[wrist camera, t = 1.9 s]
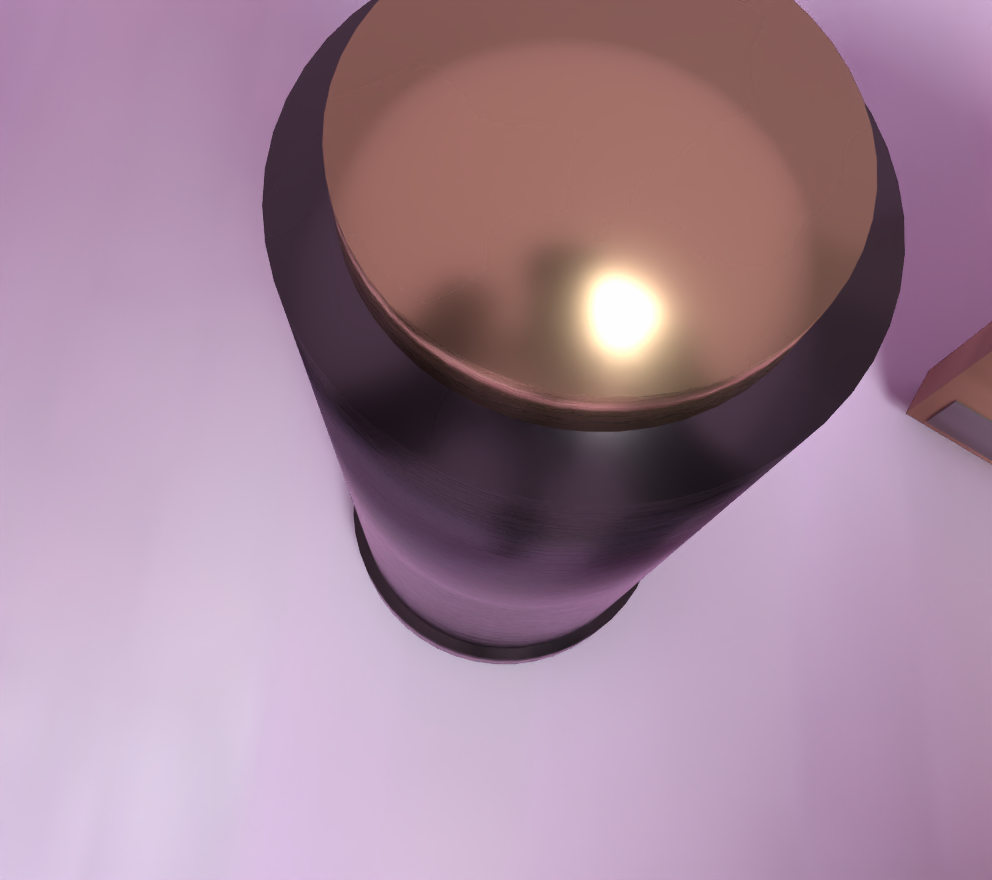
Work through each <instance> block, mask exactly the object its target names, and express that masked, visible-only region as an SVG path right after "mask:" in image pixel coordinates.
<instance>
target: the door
mask: <svg viewBox="0 0 992 880" xmlns="http://www.w3.org/2000/svg"><path fill="white" fill-rule="evenodd" d="M906 414H908V415H909V416H911V417H913V418H914V419H916V420H918V421H920V422H921V423H923V424H925V425H926V426H928V427H930V428H931V429H933V430H935V431H936V432H938V433H940V434H941V435H943V436H945V437H947V438H948V439H950V440H952V441H953V442H955V443H957V444H958V445H960V446H962V447H963V448H965V449H967V450H968V451H970V452H972V453H973V454H975V455H977V456H979V457H980V458H982V459H984V460H985V461H987V462H989V463H990V464H992V322H991V323H989V324H988V325H987V326H985V327H984V328H983V329H982V330H980V331H979V332H978V333H976V334H975V335H974V336H973V337H971V338H970V339H969V340H967V341H966V342H965V343H964V344H962V345H961V346H960V347H958V348H957V349H956V350H955V351H953V352H952V353H951V354H949V355H948V356H947V357H946V358H944V359H943V360H942V361H940V362H939V363H938V364H937V365H935V366H934V367H933V368H931V369H930V370H929V371H928V373H927V375H926V377H925V379H924V380H923V382H922V384H921V386H920V388H919V390H918V392H917V393H916V395H915V397H914V399H913V401H912V403H911V405H910V406H909V408H908V410H907V412H906Z"/></svg>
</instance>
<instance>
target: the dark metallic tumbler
mask: <svg viewBox="0 0 992 880" xmlns="http://www.w3.org/2000/svg"><path fill="white" fill-rule="evenodd" d="M262 207H263V220H264V233H265V244H266V248H267V253H268V257H269V261H270V266H271V270H272V274H273V279H274V282H275V285H276V288H277V291H278V293H279V296H280V299H281V302H282V305H283V307H284V310H285V313H286V316H287V319H288V321H289V324H290V327H291V330H292V332H293V335H294V338H295V341H296V344H297V346H298V349H299V352H300V355H301V358H302V360H303V363H304V366H305V369H306V372H307V374H308V377H309V380H310V383H311V386H312V388H313V391H314V394H315V397H316V400H317V402H318V405H319V408H320V411H321V414H322V416H323V419H324V422H325V425H326V427H327V430H328V433H329V436H330V439H331V441H332V444H333V447H334V450H335V453H336V455H337V458H338V461H339V464H340V467H341V469H342V472H343V475H344V478H345V481H346V483H347V486H348V489H349V492H350V495H351V497H352V500H353V503H354V523H355V533H356V537H357V542H358V546H359V550H360V554H361V556H362V559H363V561H364V564H365V566H366V569H367V572H368V574H369V576H370V579H371V581H372V583H373V585H374V586H375V588H376V590H377V592H378V594H379V595H380V597H381V599H382V600H383V601H384V603H385V604H386V605H387V607H388V608H389V609H390V611H391V612H392V613H393V614H394V615H395V616H396V617H397V618H398V619H399V620H400V621H401V622H402V623H403V624H404V625H405V626H406V627H407V628H408V629H409V630H411V631H412V632H413V633H414V634H416V635H417V636H418V637H420V638H421V639H422V640H424V641H426V642H428V643H429V644H431V645H433V646H434V647H436V648H438V649H440V650H443V651H445V652H447V653H450V654H452V655H455V656H457V657H461V658H465V659H468V660H472V661H476V662H484V663H491V664H518V663H525V662H532V661H537V660H540V659H544V658H547V657H551V656H554V655H556V654H559V653H561V652H563V651H566V650H568V649H570V648H572V647H574V646H575V645H577V644H579V643H580V642H582V641H584V640H585V639H587V638H588V637H590V636H591V635H592V634H594V633H595V632H596V631H597V630H599V629H600V628H601V627H602V626H604V625H605V624H606V623H607V622H608V621H610V620H611V619H612V618H613V617H614V616H615V615H616V614H617V612H618V611H619V610H620V609H621V608H622V607H623V606H624V605H625V604H626V602H627V601H628V599H629V598H630V596H631V595H632V594H633V592H634V591H635V589H636V588H637V586H638V584H639V582H640V580H641V579H642V578H644V577H645V576H646V575H647V574H648V573H650V572H651V571H652V570H653V569H654V568H655V567H657V566H658V565H659V564H660V563H661V562H662V561H664V560H665V559H666V558H667V557H668V556H669V555H671V554H672V553H673V552H674V551H675V550H676V549H678V548H679V547H680V546H681V545H682V544H683V543H685V542H686V541H687V540H688V539H689V538H690V537H692V536H693V535H694V534H695V533H696V532H698V531H699V530H700V529H701V528H702V527H703V526H705V525H706V524H707V523H708V522H709V521H710V520H712V519H713V518H714V517H715V516H716V515H717V514H719V513H720V512H721V511H722V510H723V509H724V508H726V507H727V506H728V505H729V504H730V503H731V502H733V501H734V500H735V499H736V498H737V497H738V496H740V495H741V494H742V493H743V492H744V491H746V490H747V489H748V488H749V487H750V486H751V485H753V484H754V483H755V482H756V481H757V480H758V479H760V478H761V477H762V476H763V475H764V474H765V473H767V472H768V471H769V470H770V469H771V468H772V467H774V466H775V465H776V464H777V463H778V462H779V461H781V460H782V459H783V458H784V457H785V456H786V455H788V454H789V453H790V452H791V451H792V450H794V449H795V448H796V447H797V446H798V445H799V444H801V443H802V442H803V441H804V440H805V439H806V438H808V437H809V436H810V435H811V434H812V433H813V432H815V431H816V430H817V429H818V428H819V427H820V426H822V425H823V424H824V423H825V422H826V421H827V420H828V419H829V418H830V417H831V415H832V414H833V413H834V412H835V411H836V410H837V409H838V408H839V407H840V406H841V405H842V403H843V402H844V401H845V400H846V399H847V398H848V397H849V396H850V395H851V394H852V392H853V391H854V389H855V388H856V386H857V385H858V383H859V382H860V380H861V379H862V377H863V376H864V374H865V373H866V371H867V370H868V368H869V367H870V365H871V364H872V362H873V361H874V359H875V357H876V355H877V352H878V350H879V348H880V346H881V344H882V342H883V340H884V337H885V335H886V333H887V331H888V329H889V327H890V323H891V320H892V316H893V313H894V309H895V306H896V303H897V299H898V296H899V292H900V286H901V279H902V271H903V263H904V256H905V245H904V215H903V209H902V203H901V197H900V191H899V185H898V180H897V177H896V174H895V171H894V167H893V164H892V161H891V158H890V155H889V152H888V148H887V146H886V144H885V141H884V139H883V137H882V135H881V133H880V131H879V129H878V126H877V124H876V122H875V120H874V118H873V116H872V114H871V112H870V111H869V109H868V107H867V106H866V104H865V103H864V101H863V98H862V96H861V93H860V91H859V89H858V87H857V85H856V83H855V81H854V78H853V76H852V74H851V72H850V70H849V68H848V67H847V65H846V64H845V62H844V60H843V59H842V57H841V56H840V54H839V53H838V51H837V49H836V48H835V46H834V45H833V43H832V42H831V41H830V39H829V38H828V37H827V36H826V35H825V33H824V32H823V31H822V30H821V28H820V27H819V26H818V25H817V24H816V22H815V21H814V20H813V19H812V18H811V17H810V16H809V15H808V14H807V13H806V12H805V11H804V10H803V9H802V8H801V7H800V6H799V5H798V4H797V3H796V2H795V1H794V0H371V1H369V2H368V3H367V4H365V5H364V6H363V7H361V8H360V9H359V10H357V11H356V12H355V13H353V14H352V15H351V16H350V17H349V18H348V19H347V20H346V21H345V22H344V23H343V24H342V25H341V26H340V27H339V28H338V29H337V30H336V31H335V32H334V33H333V34H332V35H330V36H329V37H328V38H327V39H326V41H325V42H324V43H323V45H322V46H321V47H320V48H319V50H318V51H317V52H316V53H315V55H314V56H313V57H312V59H311V60H310V61H309V62H308V64H307V65H306V66H305V68H304V69H303V71H302V73H301V75H300V76H299V78H298V80H297V81H296V83H295V85H294V87H293V88H292V90H291V92H290V94H289V95H288V97H287V99H286V102H285V104H284V107H283V109H282V112H281V114H280V117H279V119H278V122H277V124H276V127H275V129H274V132H273V136H272V140H271V145H270V149H269V153H268V158H267V162H266V166H265V176H264V189H263V203H262Z"/></svg>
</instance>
